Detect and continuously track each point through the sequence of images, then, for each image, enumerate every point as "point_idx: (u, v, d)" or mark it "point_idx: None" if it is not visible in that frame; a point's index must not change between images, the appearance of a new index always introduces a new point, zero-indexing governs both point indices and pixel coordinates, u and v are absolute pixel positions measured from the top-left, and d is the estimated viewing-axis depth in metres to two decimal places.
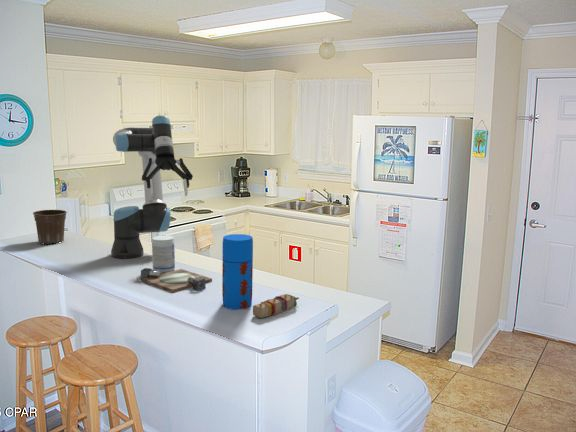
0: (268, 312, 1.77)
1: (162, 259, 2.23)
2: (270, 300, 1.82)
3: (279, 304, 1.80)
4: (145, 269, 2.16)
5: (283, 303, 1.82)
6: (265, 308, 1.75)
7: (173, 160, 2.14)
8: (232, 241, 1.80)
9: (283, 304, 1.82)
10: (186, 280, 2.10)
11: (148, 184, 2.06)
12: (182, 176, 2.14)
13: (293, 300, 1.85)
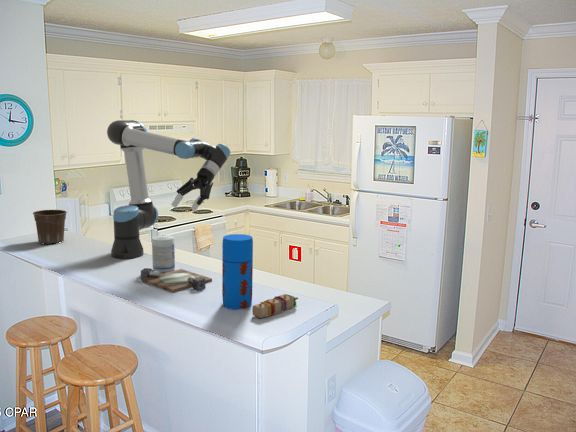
0: (267, 312, 1.77)
1: (162, 259, 2.23)
2: (270, 300, 1.82)
3: (279, 304, 1.80)
4: (145, 269, 2.16)
5: (283, 303, 1.82)
6: (264, 308, 1.76)
7: None
8: (232, 241, 1.80)
9: (283, 304, 1.82)
10: (186, 280, 2.10)
11: None
12: (184, 192, 2.39)
13: (292, 300, 1.85)
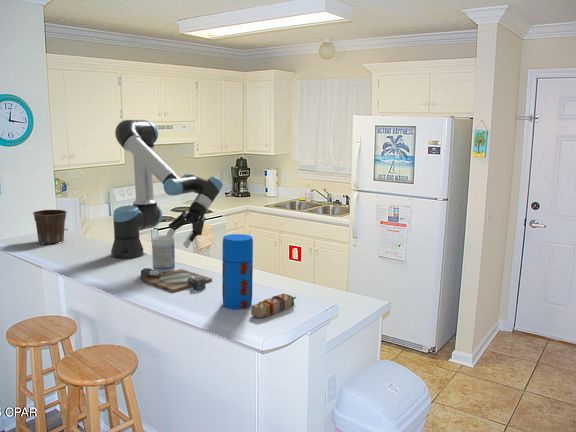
0: (266, 312, 1.77)
1: (162, 259, 2.23)
2: (268, 300, 1.82)
3: (277, 304, 1.81)
4: (145, 269, 2.16)
5: (281, 303, 1.82)
6: (263, 308, 1.76)
7: None
8: (232, 241, 1.80)
9: (281, 304, 1.82)
10: (186, 280, 2.10)
11: None
12: (176, 227, 2.37)
13: (291, 300, 1.85)
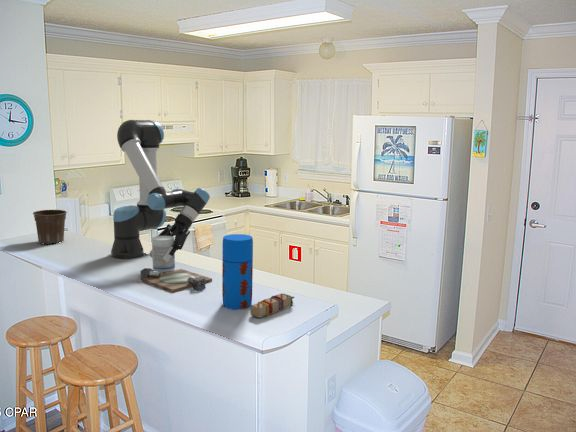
0: (265, 312, 1.77)
1: (162, 259, 2.23)
2: (267, 300, 1.82)
3: (276, 303, 1.81)
4: (145, 269, 2.16)
5: (280, 302, 1.82)
6: (262, 308, 1.76)
7: None
8: (232, 241, 1.80)
9: (280, 303, 1.82)
10: (186, 280, 2.10)
11: None
12: None
13: (289, 299, 1.86)
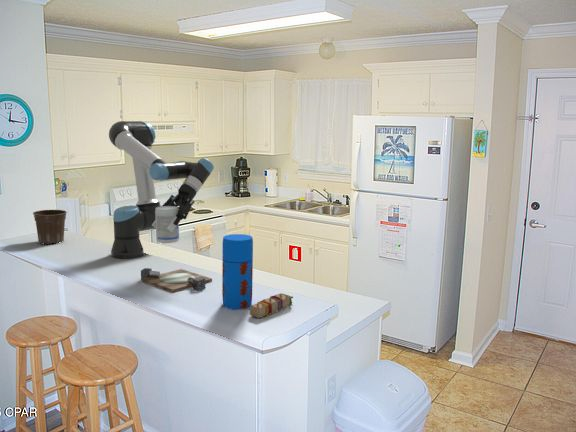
0: (265, 312, 1.77)
1: (166, 228, 2.18)
2: (266, 300, 1.82)
3: (275, 303, 1.81)
4: (145, 269, 2.16)
5: (279, 302, 1.82)
6: (262, 308, 1.76)
7: None
8: (232, 241, 1.80)
9: (279, 303, 1.82)
10: (186, 280, 2.10)
11: None
12: None
13: (288, 299, 1.86)
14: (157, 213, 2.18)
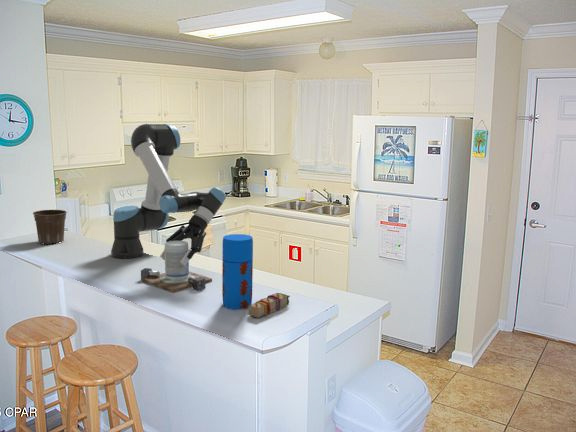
0: (263, 311, 1.77)
1: (176, 265, 2.08)
2: (264, 299, 1.83)
3: (273, 303, 1.81)
4: (145, 269, 2.16)
5: (277, 302, 1.83)
6: (261, 308, 1.76)
7: None
8: (232, 241, 1.80)
9: (277, 303, 1.83)
10: (186, 280, 2.10)
11: None
12: None
13: (286, 298, 1.87)
14: (166, 249, 2.08)
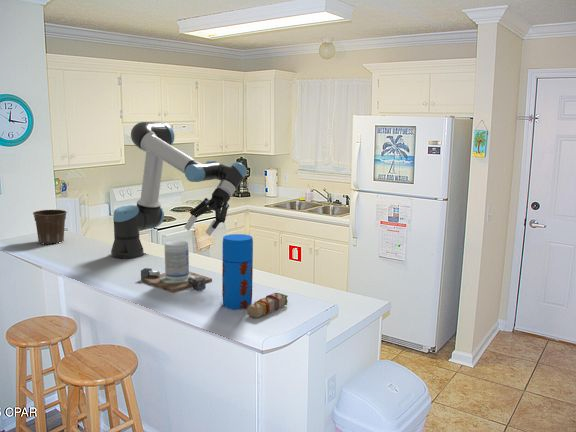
0: (263, 311, 1.77)
1: (176, 265, 2.08)
2: (263, 299, 1.83)
3: (272, 303, 1.81)
4: (145, 269, 2.16)
5: (276, 302, 1.83)
6: (260, 308, 1.76)
7: None
8: (232, 241, 1.80)
9: (276, 303, 1.83)
10: (186, 280, 2.10)
11: None
12: (198, 214, 2.26)
13: (284, 298, 1.87)
14: (166, 249, 2.08)
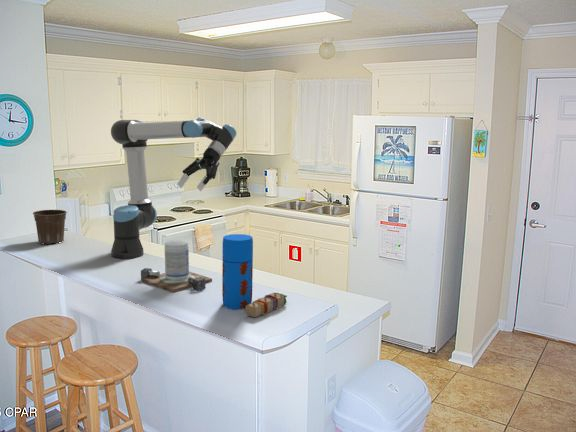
0: (261, 311, 1.78)
1: (176, 265, 2.08)
2: (261, 299, 1.83)
3: (271, 302, 1.82)
4: (145, 269, 2.16)
5: (274, 301, 1.83)
6: (258, 307, 1.76)
7: None
8: (232, 241, 1.80)
9: (274, 302, 1.83)
10: (186, 280, 2.10)
11: None
12: (190, 172, 2.40)
13: (283, 298, 1.87)
14: (166, 249, 2.08)
